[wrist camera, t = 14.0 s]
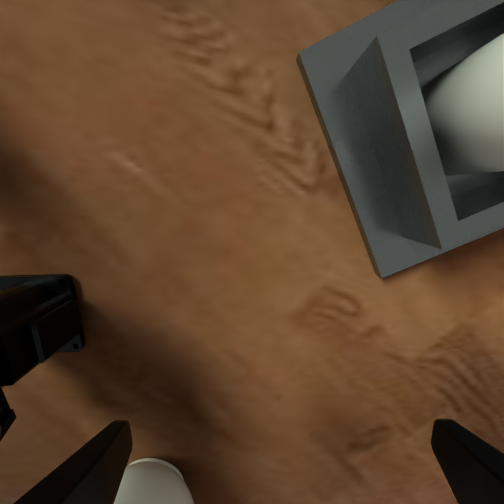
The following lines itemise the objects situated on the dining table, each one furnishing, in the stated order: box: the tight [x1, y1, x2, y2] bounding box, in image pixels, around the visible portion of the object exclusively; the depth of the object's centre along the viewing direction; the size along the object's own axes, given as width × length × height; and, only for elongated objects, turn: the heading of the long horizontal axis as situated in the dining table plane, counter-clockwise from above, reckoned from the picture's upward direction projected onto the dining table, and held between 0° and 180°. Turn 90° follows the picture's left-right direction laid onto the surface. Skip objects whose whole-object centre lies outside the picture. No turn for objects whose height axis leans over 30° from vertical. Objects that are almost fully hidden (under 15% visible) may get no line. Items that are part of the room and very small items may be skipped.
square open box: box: [296, 0, 504, 278], centre depth 15 cm, size 16×16×5 cm
